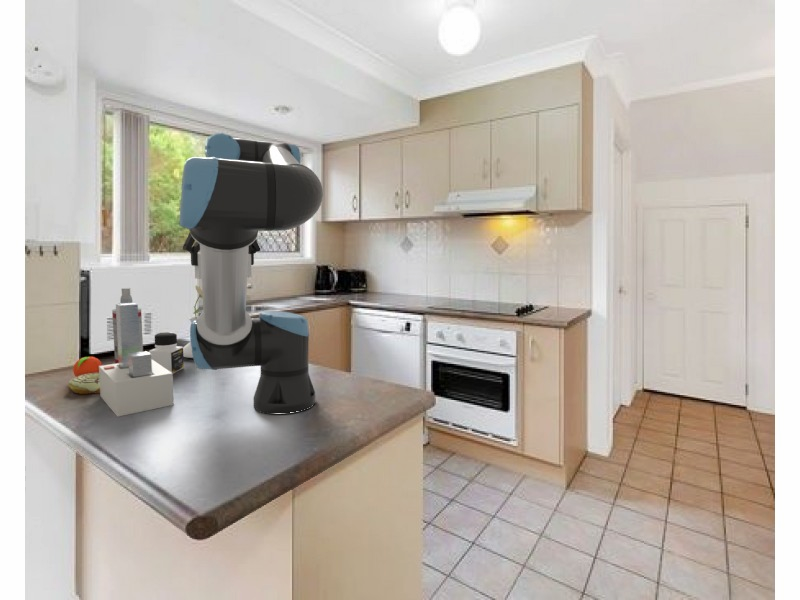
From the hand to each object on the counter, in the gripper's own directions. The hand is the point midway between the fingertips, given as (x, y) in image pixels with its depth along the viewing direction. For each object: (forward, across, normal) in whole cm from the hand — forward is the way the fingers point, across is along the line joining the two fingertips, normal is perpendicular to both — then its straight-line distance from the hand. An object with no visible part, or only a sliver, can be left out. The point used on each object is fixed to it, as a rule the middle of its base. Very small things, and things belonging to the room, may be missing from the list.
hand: (224, 277), depth 121 cm
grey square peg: (+31, +21, 0) cm, 37 cm away
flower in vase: (+30, -8, -40) cm, 51 cm away
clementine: (+31, +26, -31) cm, 51 cm away
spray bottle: (+30, +13, -42) cm, 53 cm away
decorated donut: (+31, +27, -22) cm, 46 cm away
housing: (+31, +21, -5) cm, 37 cm away
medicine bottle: (+31, +6, -28) cm, 42 cm away
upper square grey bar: (+25, +21, -10) cm, 34 cm away
